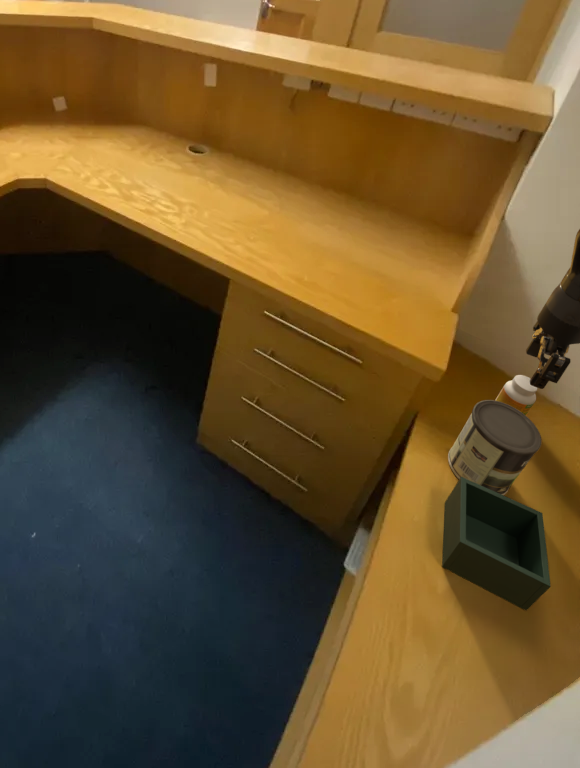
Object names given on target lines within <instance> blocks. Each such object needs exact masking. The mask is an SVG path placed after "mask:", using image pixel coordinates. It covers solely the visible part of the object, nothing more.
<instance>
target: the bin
mask: <svg viewBox="0 0 580 768" xmlns="http://www.w3.org/2000/svg"><path fill="white" fill-rule="evenodd" d="M443 512H444V513H443V531H442V532H443V533H442V534H443V537H442V556H441V558H442V560H441V567H442V568H443V569H446V570H447V571H449V572H451V573H453V574H455V575H457V576H459V577H461V578H463V580H467V581H468V582H470V583H473V584H474V585H476V586H478V587H480V588H482V589H484V590H486V591H488V592H489V593H491V594H493V595H495V596H496V597H499V598H501V599H503V600H505V601H506V602H509V603H510V604H513V606H516V607H517V608H520V609H521V610H524V611H528V610H529V609H530V608H531V607H532V606H533V605H534V604H535V603H536V602H537V601H538V600H539V599H540V598H541V597H542V596H543V595H544V594H545V593H546V592H547V591H548V590H549V589H550V588H551V586H552V585H551V577H550V576H551V575H550V567H549V559H548V549H547V541H546V540H547V539H546V533H545V531H546V530H545V524H544V523H545V522H544V515H543V512H542V511H539V510H537V509H535V508H533V507H531V506H528V505H526V504H523V503H522V502H519V501H517V500H514V499H513V498H510V497H508V496H506V495H501V494H499V493H497V492H495V491H492V490H490V489H488V488H486V487H483V486H481V485H479V484H477V483H475V482H472V481H470V480H468V479H466V478H463V477H461V478H460V479H458V481H457V483H456V484H455V485H454V487H453V489H452V490H451V492H450V493H449V495H448V497H447V498H446V500H445V502H444V510H443Z"/></svg>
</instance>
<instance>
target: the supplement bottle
mask: <svg viewBox="0 0 580 768" xmlns="http://www.w3.org/2000/svg"><path fill="white" fill-rule="evenodd" d="M530 379H531V378H530V376H529V377H528V376H527V375H524V374H516V375H514V377H513V378H512V380H508V381H506V382H505V384H503V387H502V389H501V390H500V391H499V393H498V395H497V397H496V398H495V400H494V401H499V402H502V403H505V404H508V405H510V406H512V407H514V408H516V409H517V410H519V411H520V412H522V413H523V414H524V415H525V416H527V415H528V413H529V411H530V410H531V409H532V407H533V406H534V404H535V402H536V400H537V395H536V393H537V391H538V389H539V388H537V387H534V386H532V385H530Z"/></svg>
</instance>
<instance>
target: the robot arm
mask: <svg viewBox="0 0 580 768" xmlns="http://www.w3.org/2000/svg"><path fill="white" fill-rule="evenodd" d="M532 331H534V332H533V334H532V336H531V337H532V340H531V341H530V343H529V344H528V346H527V348H526V349H525V353H526V355H528V356H530V357H534V358H537V360H538V361H539V363H538V365H537V368H536V370H535V372H534V374H532V377H531V378H530V385H532V386H534V387H537V388H538V389H540V390H543V389H545V387H546V386H547V385H548V383H549V382H551V383H553V384H558V382H559V381H560V380H561V378H562V376H563V374H564V373H565V372H566V370H567V368H568V367H569V366H570V364H571V358H570V357H566V354H568V352H569V350H570V345H579V344H580V228H579V229H578V231H577V232H576V235H575V239H574V245H573V249H572V255H571V262H570V267H569V268H568V270H567V271H566V273H565V275H564V276H563V277H562V279H561V281H560V283H559V284H558V285H557V286H556V287H555V288H554V290H553V291H552V292H551V294H550V295H549V297H548V298H547V300H546V302H545V303H544V305H543V307H542V309H541V310H540V312H539V313H538V314H537V316H536V322H535V324H534V325H533V327H532ZM545 355H547V356H548V358H547V357H545Z"/></svg>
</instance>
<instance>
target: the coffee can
mask: <svg viewBox="0 0 580 768" xmlns="http://www.w3.org/2000/svg"><path fill="white" fill-rule="evenodd" d="M542 441H543V440H542V436H541V433H540V431H539V429H538V427H537V426H536V424H535V423H534V422H533V421H532V420H531V419H530V417H528V416H527V415H526V416H525V415H524V414H523V413H522V412H520V411H519V410H517V409H516V408H514V407H512V406H510V405H508V404H505V403H502V402H499V401H495V400H494V399H484V400H481V401H478V402H477V403H476V404H475V405H474V406H473V408H472V410H471V413H470V415H469V417H468V419H467V421H466V422H465V424H464V426H463V428H462V430H461V431H460V433H459V434H458V436H457V438H456V440H455V441H454V443H453V445H452V447H450V449H449V450H448V452H447V453H448V454H447V460H448V464H449V467H450V469H451V471H452V473H453V474H454V475H455V477H456V478H457V479H458V480H459V479H460V478H461V477H463V478H466V479H468V480H470V481H472V482H475V483H477V484H479V485H481V486H483V487H486V488H488V489H490V490H492V491H495V492H497V493H499V494H501V495H503V496H506V494H507V493H508V492H509V489H510V488H511V486H513V483H515V481H516V479H518V477H519V475H520V474H521V473H522V471H523V470H524V469H525V467H526V466H527V465H528V463H529V462H530V461H531V459H532V458H533V457H534V455H535V454H536V453H537V452H538V451H539V450H540V449H541V447H542V443H543V442H542Z"/></svg>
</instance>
